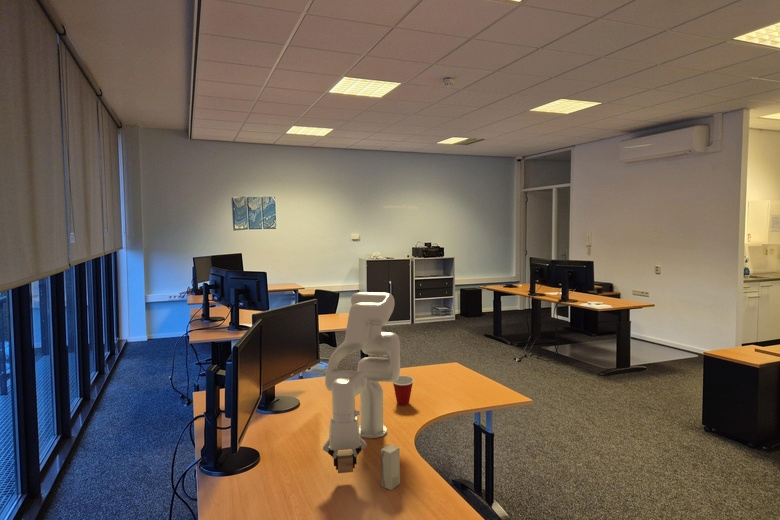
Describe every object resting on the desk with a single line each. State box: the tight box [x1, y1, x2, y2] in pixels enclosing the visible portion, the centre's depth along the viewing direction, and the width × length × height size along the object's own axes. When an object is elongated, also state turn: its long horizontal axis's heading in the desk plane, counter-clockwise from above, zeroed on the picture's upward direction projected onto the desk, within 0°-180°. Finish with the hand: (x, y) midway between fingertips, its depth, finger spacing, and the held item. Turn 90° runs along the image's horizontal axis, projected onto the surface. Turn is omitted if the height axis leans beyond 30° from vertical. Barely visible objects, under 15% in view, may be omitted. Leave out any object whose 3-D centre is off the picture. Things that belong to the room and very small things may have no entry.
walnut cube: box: [337, 449, 354, 474], centre depth 159 cm, size 5×5×5 cm
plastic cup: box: [392, 375, 415, 406], centre depth 228 cm, size 11×11×12 cm
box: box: [380, 443, 401, 491], centre depth 157 cm, size 5×4×13 cm
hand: (345, 466), depth 160 cm, fingers closed on walnut cube, 4 cm apart
